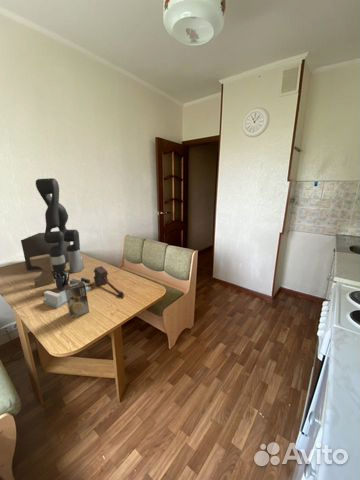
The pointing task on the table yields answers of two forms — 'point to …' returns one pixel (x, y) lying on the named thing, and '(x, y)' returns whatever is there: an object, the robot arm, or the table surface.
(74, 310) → the coffee box
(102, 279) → the hammer
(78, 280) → the free jaw
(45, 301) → the vise base
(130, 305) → the table surface
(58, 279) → the steel block
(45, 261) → the decorative block
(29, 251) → the dark grey angular block
